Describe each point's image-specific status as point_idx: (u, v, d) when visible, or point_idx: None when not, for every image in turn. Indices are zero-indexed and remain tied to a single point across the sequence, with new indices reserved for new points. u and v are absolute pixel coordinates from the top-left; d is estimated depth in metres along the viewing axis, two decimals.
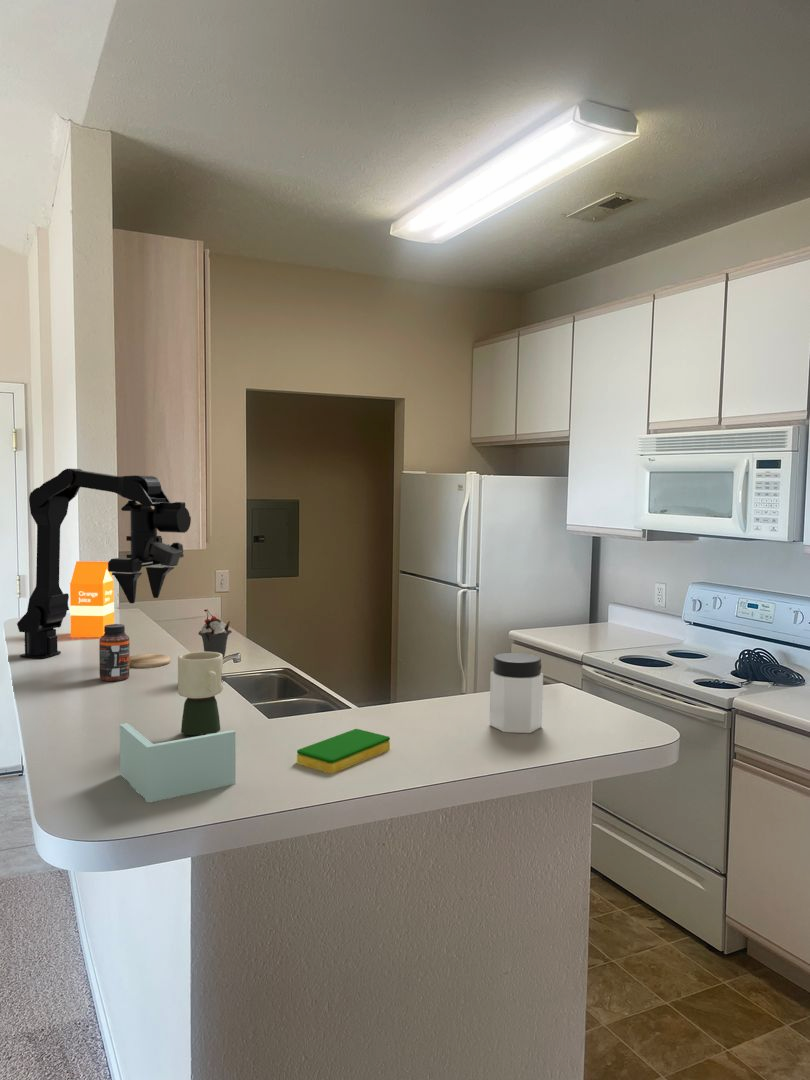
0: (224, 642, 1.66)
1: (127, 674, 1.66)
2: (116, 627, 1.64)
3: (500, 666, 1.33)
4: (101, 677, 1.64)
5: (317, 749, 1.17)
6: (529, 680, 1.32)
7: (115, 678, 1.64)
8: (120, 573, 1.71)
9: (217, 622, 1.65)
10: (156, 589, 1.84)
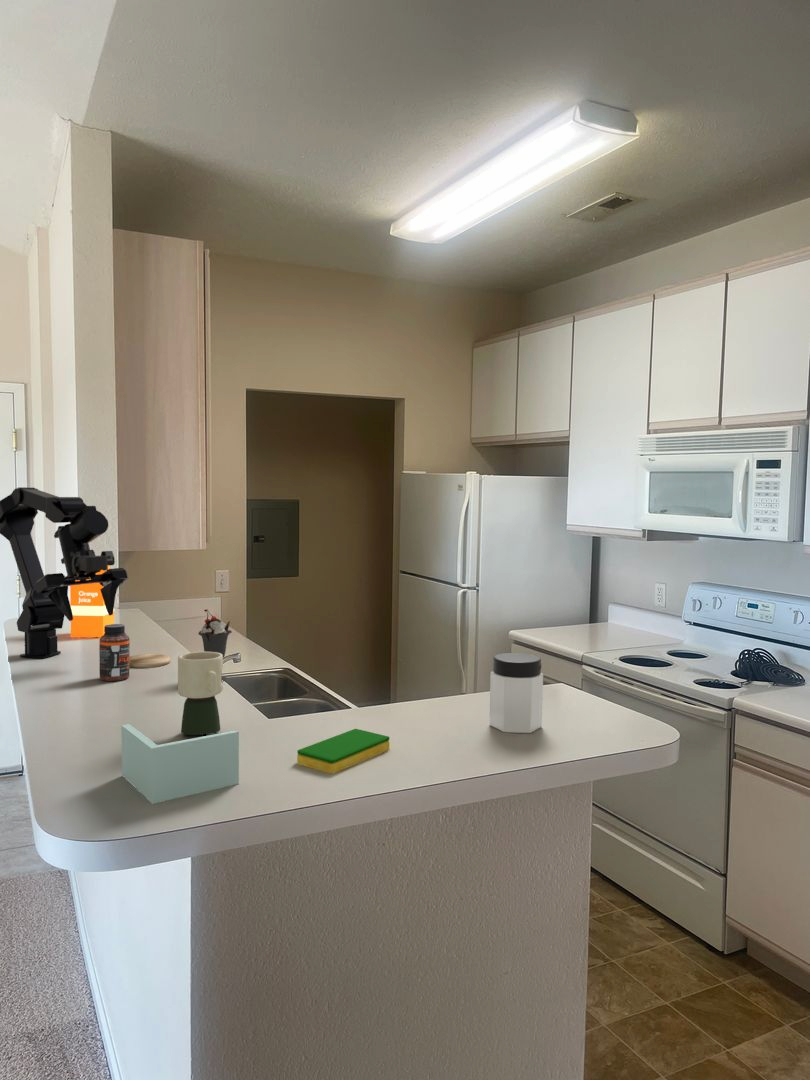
0: (224, 642, 1.66)
1: (127, 674, 1.66)
2: (116, 627, 1.64)
3: (500, 666, 1.33)
4: (101, 677, 1.64)
5: (318, 749, 1.17)
6: (529, 680, 1.32)
7: (115, 678, 1.64)
8: (47, 592, 1.69)
9: (217, 622, 1.65)
10: (109, 606, 1.77)
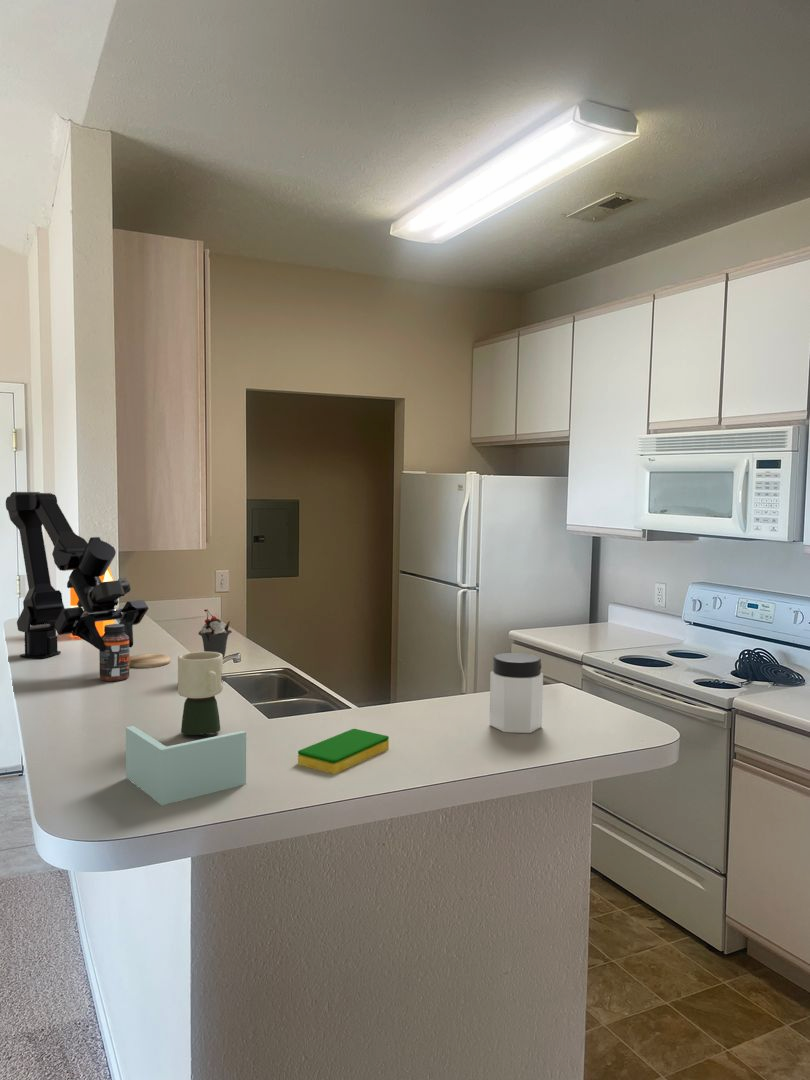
0: (224, 642, 1.66)
1: (127, 674, 1.66)
2: (116, 627, 1.64)
3: (500, 666, 1.33)
4: (101, 677, 1.64)
5: (318, 749, 1.17)
6: (529, 680, 1.32)
7: (115, 678, 1.64)
8: (75, 627, 1.63)
9: (217, 622, 1.65)
10: None
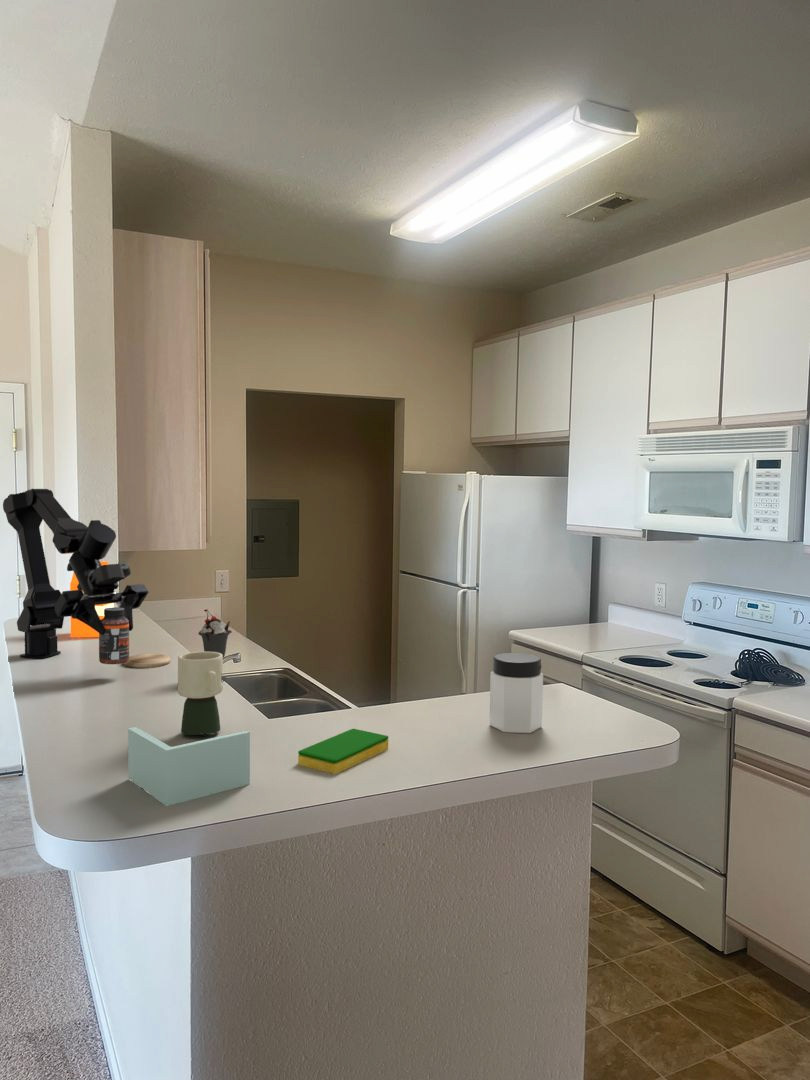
0: (224, 642, 1.66)
1: (127, 657, 1.66)
2: (116, 610, 1.64)
3: (500, 666, 1.33)
4: (101, 660, 1.64)
5: (319, 749, 1.17)
6: (529, 680, 1.32)
7: (115, 661, 1.64)
8: (74, 610, 1.63)
9: (217, 622, 1.65)
10: None
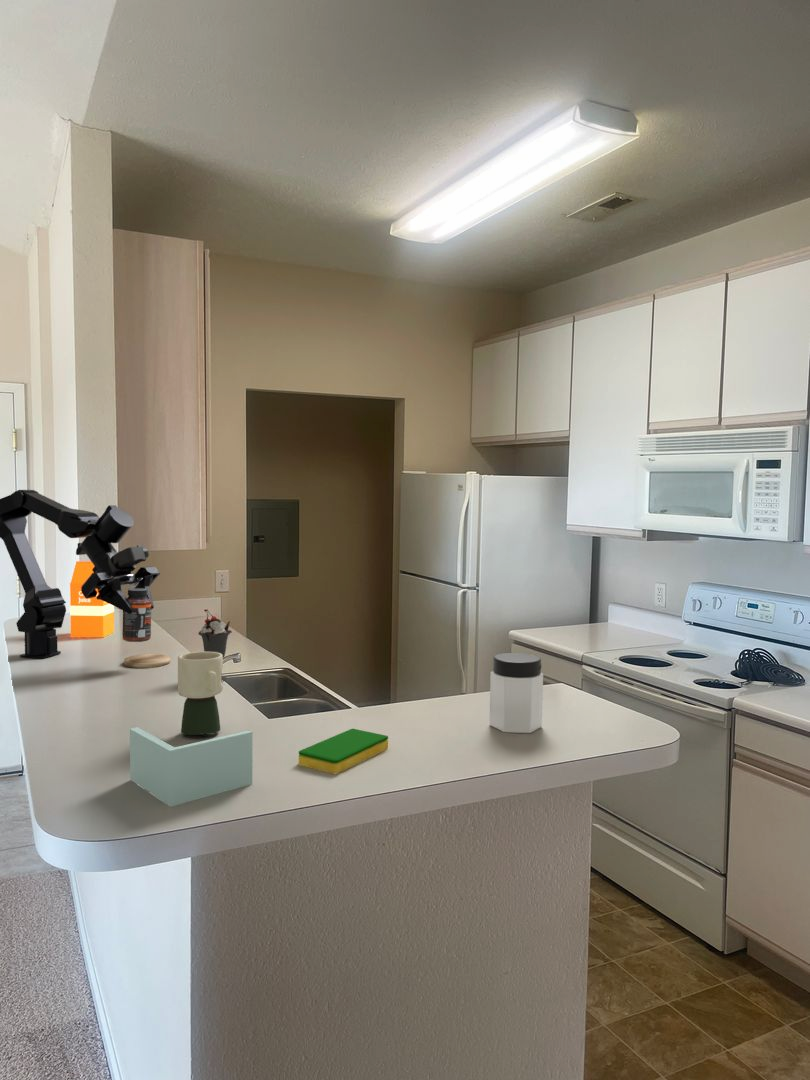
0: (224, 642, 1.66)
1: (150, 635, 1.75)
2: (142, 590, 1.73)
3: (500, 666, 1.33)
4: (126, 638, 1.72)
5: (319, 749, 1.17)
6: (529, 680, 1.32)
7: (141, 639, 1.73)
8: (101, 591, 1.70)
9: (217, 622, 1.65)
10: None
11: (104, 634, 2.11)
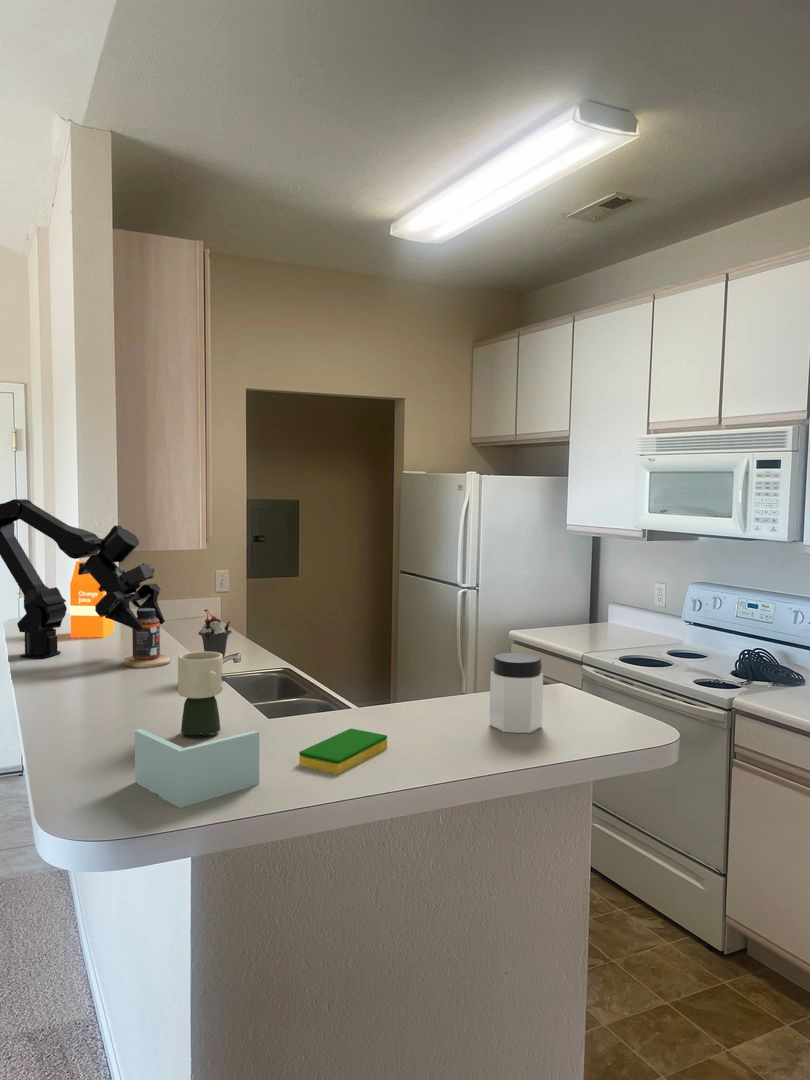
0: (224, 642, 1.66)
1: (159, 653, 1.82)
2: (151, 610, 1.80)
3: (500, 666, 1.33)
4: (139, 657, 1.78)
5: (320, 750, 1.17)
6: (529, 680, 1.32)
7: (153, 657, 1.79)
8: (111, 610, 1.74)
9: (217, 622, 1.65)
10: (158, 616, 1.85)
11: (104, 634, 2.11)
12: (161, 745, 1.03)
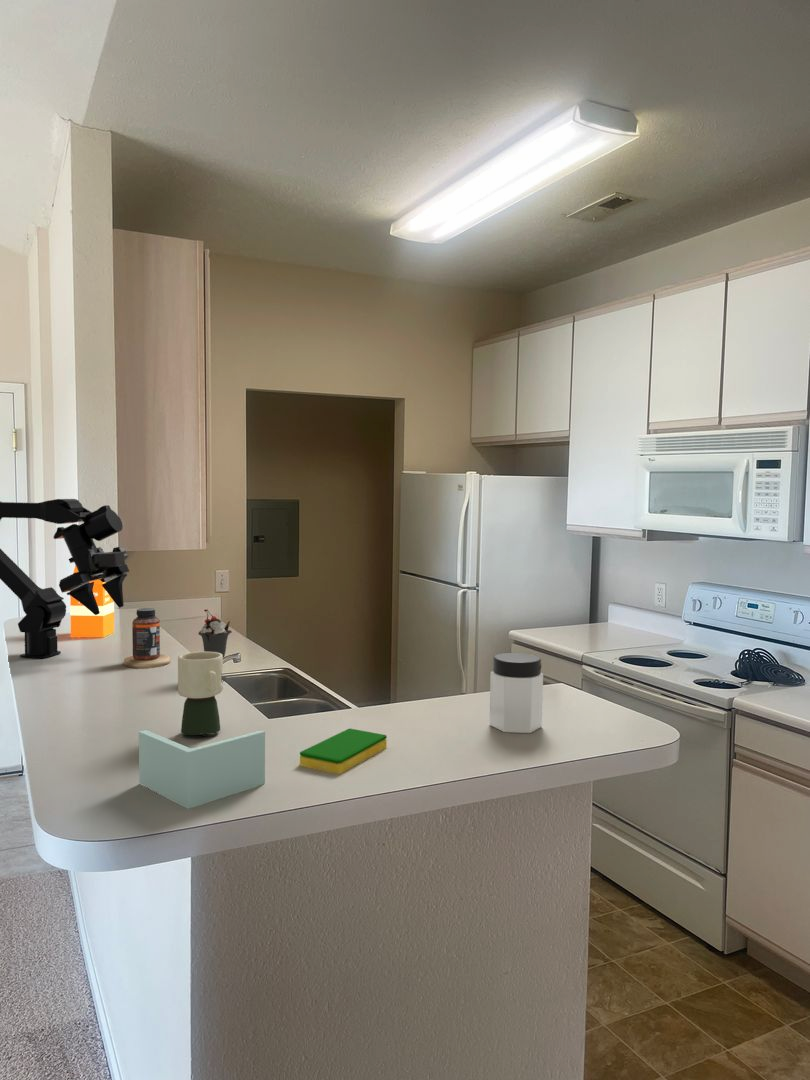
0: (224, 642, 1.66)
1: (159, 653, 1.82)
2: (151, 610, 1.80)
3: (500, 666, 1.33)
4: (139, 657, 1.78)
5: (320, 750, 1.17)
6: (529, 680, 1.32)
7: (153, 657, 1.79)
8: (74, 589, 1.77)
9: (217, 622, 1.65)
10: (118, 599, 1.89)
11: (104, 634, 2.11)
12: (168, 746, 1.03)
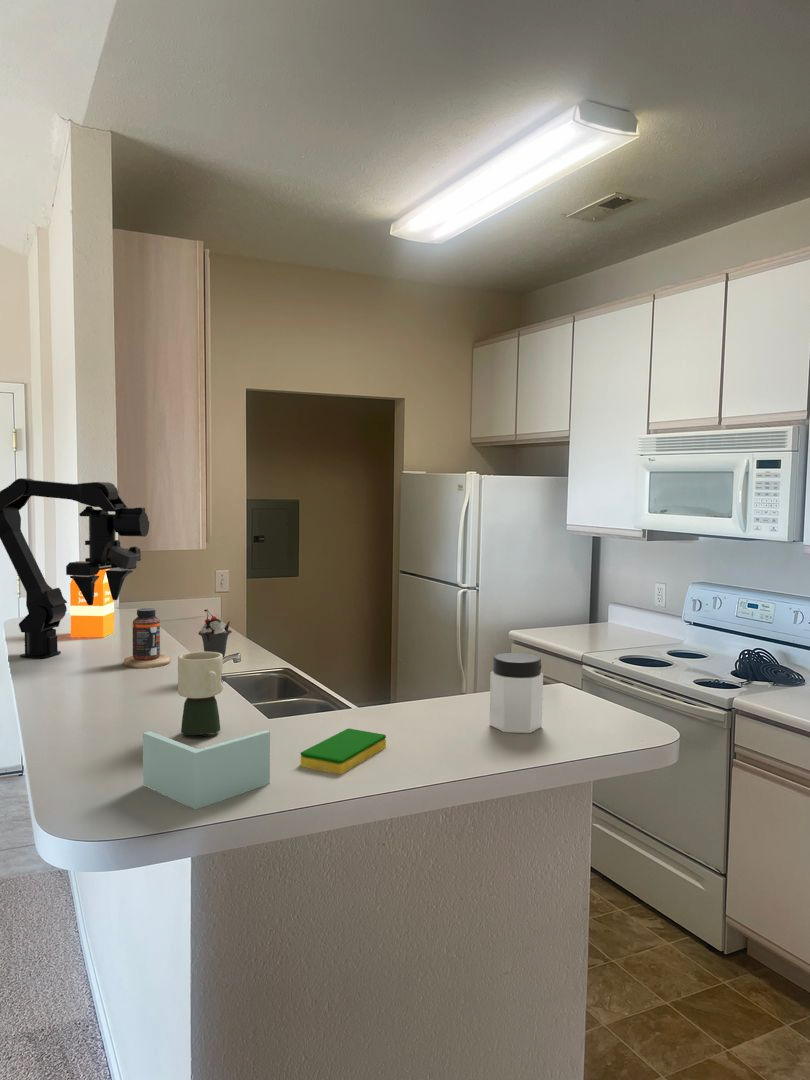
0: (224, 642, 1.66)
1: (159, 653, 1.82)
2: (152, 610, 1.80)
3: (500, 666, 1.33)
4: (139, 657, 1.78)
5: (321, 750, 1.17)
6: (529, 680, 1.32)
7: (153, 657, 1.79)
8: (78, 576, 1.78)
9: (217, 622, 1.65)
10: (115, 591, 1.90)
11: (104, 634, 2.11)
12: (174, 747, 1.02)
